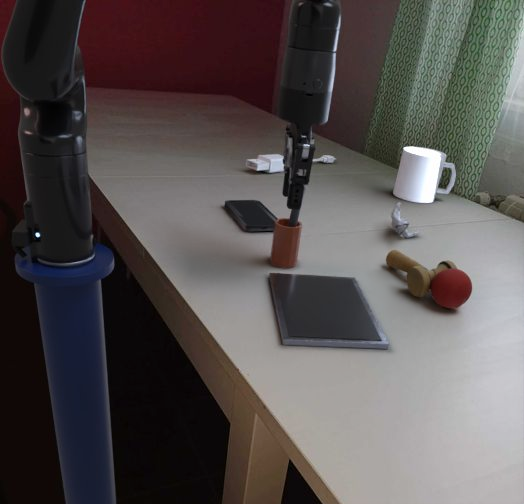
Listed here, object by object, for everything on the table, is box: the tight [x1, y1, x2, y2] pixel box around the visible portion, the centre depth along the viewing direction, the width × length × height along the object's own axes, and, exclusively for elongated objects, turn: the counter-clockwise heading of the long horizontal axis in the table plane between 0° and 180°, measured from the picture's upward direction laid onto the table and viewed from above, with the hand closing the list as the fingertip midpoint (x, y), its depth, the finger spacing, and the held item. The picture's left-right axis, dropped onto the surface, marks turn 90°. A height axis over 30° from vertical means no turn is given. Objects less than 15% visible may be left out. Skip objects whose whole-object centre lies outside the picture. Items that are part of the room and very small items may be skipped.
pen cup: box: [269, 217, 303, 269], centre depth 89 cm, size 4×4×7 cm
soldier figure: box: [390, 202, 420, 239], centre depth 109 cm, size 8×5×12 cm
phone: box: [224, 199, 279, 233], centre depth 108 cm, size 8×1×15 cm
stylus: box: [287, 185, 307, 227], centre depth 87 cm, size 1×1×13 cm
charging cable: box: [245, 153, 337, 174], centre depth 145 cm, size 5×32×3 cm, turn 133°
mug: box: [392, 146, 457, 204], centre depth 130 cm, size 14×10×11 cm
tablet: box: [268, 272, 390, 350], centre depth 78 cm, size 14×20×1 cm
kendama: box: [385, 249, 473, 309], centre depth 87 cm, size 8×6×18 cm
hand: (291, 201), depth 85 cm, fingers open, 5 cm apart
